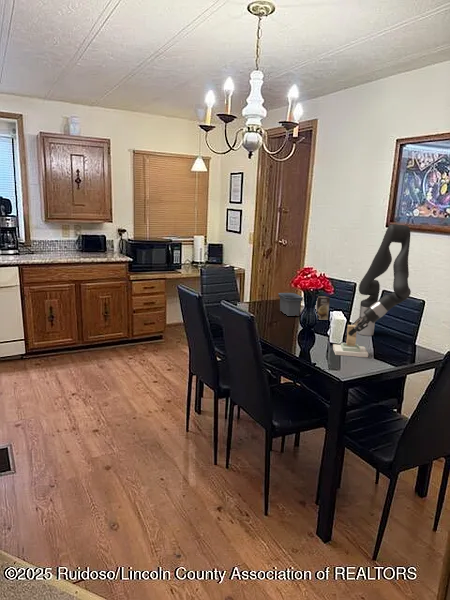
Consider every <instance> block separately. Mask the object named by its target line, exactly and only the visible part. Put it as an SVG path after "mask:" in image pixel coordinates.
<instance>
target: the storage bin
mask: <svg viewBox="0 0 450 600" xmlns="http://www.w3.org/2000/svg"><path fill="white" fill-rule="evenodd" d="M277 294H278V297H279V312H280V311H282V312H283V313H284V314H286V315H287V316H295V315H297V316H300V312H301V311H300V310H301V305H302V303H303V300H304V296H302V295H299V294H297V293H295V292H278V293H277ZM284 314H283V315H284ZM286 315H285V316H286ZM287 316H286V317H287Z"/></svg>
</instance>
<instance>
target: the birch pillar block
mask: <svg viewBox="0 0 450 600" xmlns="http://www.w3.org/2000/svg"><path fill="white" fill-rule="evenodd" d="M356 325H357V324H356ZM356 325H353V324H347V330H346V331H347V332H346V344H347V346H355V344H357V343H356V342H357V334H358V332H357V331H356V333H354V334H353V335H352V336H350V335H349V334H348V332H349V331H351V330H352V329H353V328H354V327H355V326H356Z"/></svg>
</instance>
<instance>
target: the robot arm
mask: <svg viewBox="0 0 450 600" xmlns="http://www.w3.org/2000/svg"><path fill="white" fill-rule="evenodd" d="M392 243H396V244H397V243H398V244H401V248H400V251H399V252H398V254H397V255H396V257H395V259H394V261H393V257H392V253H391V250H390V246H391V244H392ZM410 243H411V228H410V226H409V225H404V224H394V223H393V224H389V226H388V227H387V229H386V230H385V233H384V236H383V238H382V242H381V243H380V245H379V248H378V250H377V252H376V254H375V256H374V258H373V259H372V261H371V264H370V266H369V267H368V270H367V271H366V273H365V274H364V276H363V277H362V279H361V280H360V283H359V286H358V292H359V294H360V295H363V296H368V297H367V298H364V299H362V300H360V305H359V316H358V318H357V319H355V321H353V323H352V325H356V326H355V327H354V328H353V329H352V330H351V331H349V332H348V334H349V335H350V336H352V335H353V334H354V333H356V331H357V333H356V334H358V335H360V336H369V337H370V336H374V332H375V323H376V322H377V321H379V319H381V318H382V317H384V316H385V315H386V314H387V313H388V312H389V311H390V310H391V309H393V308H394V307H395V306H397V305H399V304H400V303H403V302H404V301H405V300H407V299H408V298H409V297H410V296H411V292H412V290H411V288H410V287H409V275H410V269H409V253H410V246H411V245H410ZM392 262H393V282H392V283H393V285H392V288H393V289H392V290H393V292H392V293H390V294H385V295H383V296H382V297H381V298H379V295H380V290H381V285H380V282H379V280H378V279H377V278H378V277H380V276H381V275H383V274H385V273H386V272H387V271H388V270H389V267H390V266H391V264H392Z"/></svg>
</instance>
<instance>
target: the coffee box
mask: <svg viewBox="0 0 450 600" xmlns="http://www.w3.org/2000/svg"><path fill="white" fill-rule="evenodd" d="M317 296H318V298H317V301H316V305H315V309H316V312H317V315H318V319H319V320H329V311H330V300H331V297H329V296H327V295H317Z"/></svg>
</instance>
